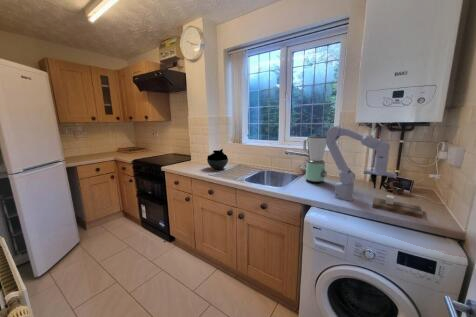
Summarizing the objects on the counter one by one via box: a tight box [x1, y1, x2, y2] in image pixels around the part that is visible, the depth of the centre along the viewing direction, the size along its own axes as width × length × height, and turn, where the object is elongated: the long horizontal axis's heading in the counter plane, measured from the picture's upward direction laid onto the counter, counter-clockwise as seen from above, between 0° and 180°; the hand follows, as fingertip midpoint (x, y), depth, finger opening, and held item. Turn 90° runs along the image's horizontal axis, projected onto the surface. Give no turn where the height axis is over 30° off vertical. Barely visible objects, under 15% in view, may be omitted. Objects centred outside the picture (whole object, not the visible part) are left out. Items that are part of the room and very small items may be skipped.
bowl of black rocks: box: [206, 148, 229, 170], centre depth 189 cm, size 20×20×19 cm
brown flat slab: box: [371, 197, 424, 219], centre depth 105 cm, size 20×11×2 cm, turn 52°
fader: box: [385, 194, 395, 205], centre depth 106 cm, size 3×5×4 cm, turn 142°
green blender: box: [302, 134, 328, 185], centre depth 149 cm, size 19×13×35 cm
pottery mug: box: [382, 180, 406, 195], centre depth 128 cm, size 12×10×8 cm
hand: (377, 188), depth 109 cm, fingers closed
